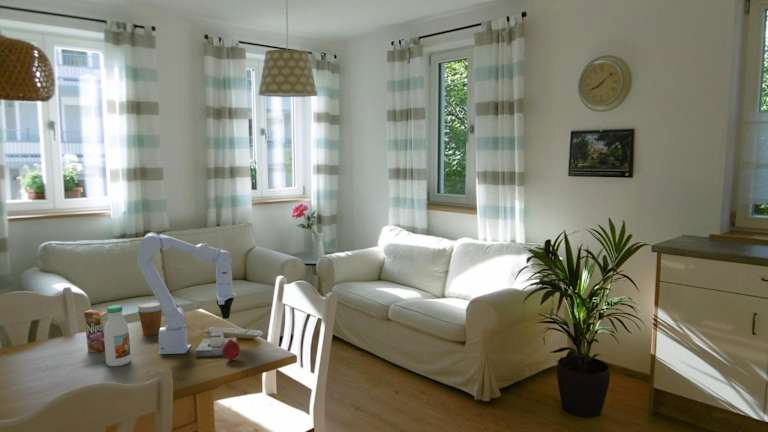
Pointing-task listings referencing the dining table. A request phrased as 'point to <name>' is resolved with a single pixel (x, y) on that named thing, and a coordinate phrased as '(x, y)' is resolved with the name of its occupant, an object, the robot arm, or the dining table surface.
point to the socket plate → (210, 348)
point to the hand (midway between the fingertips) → (226, 318)
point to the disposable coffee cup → (150, 317)
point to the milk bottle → (116, 338)
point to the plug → (216, 339)
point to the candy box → (95, 329)
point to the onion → (230, 350)
